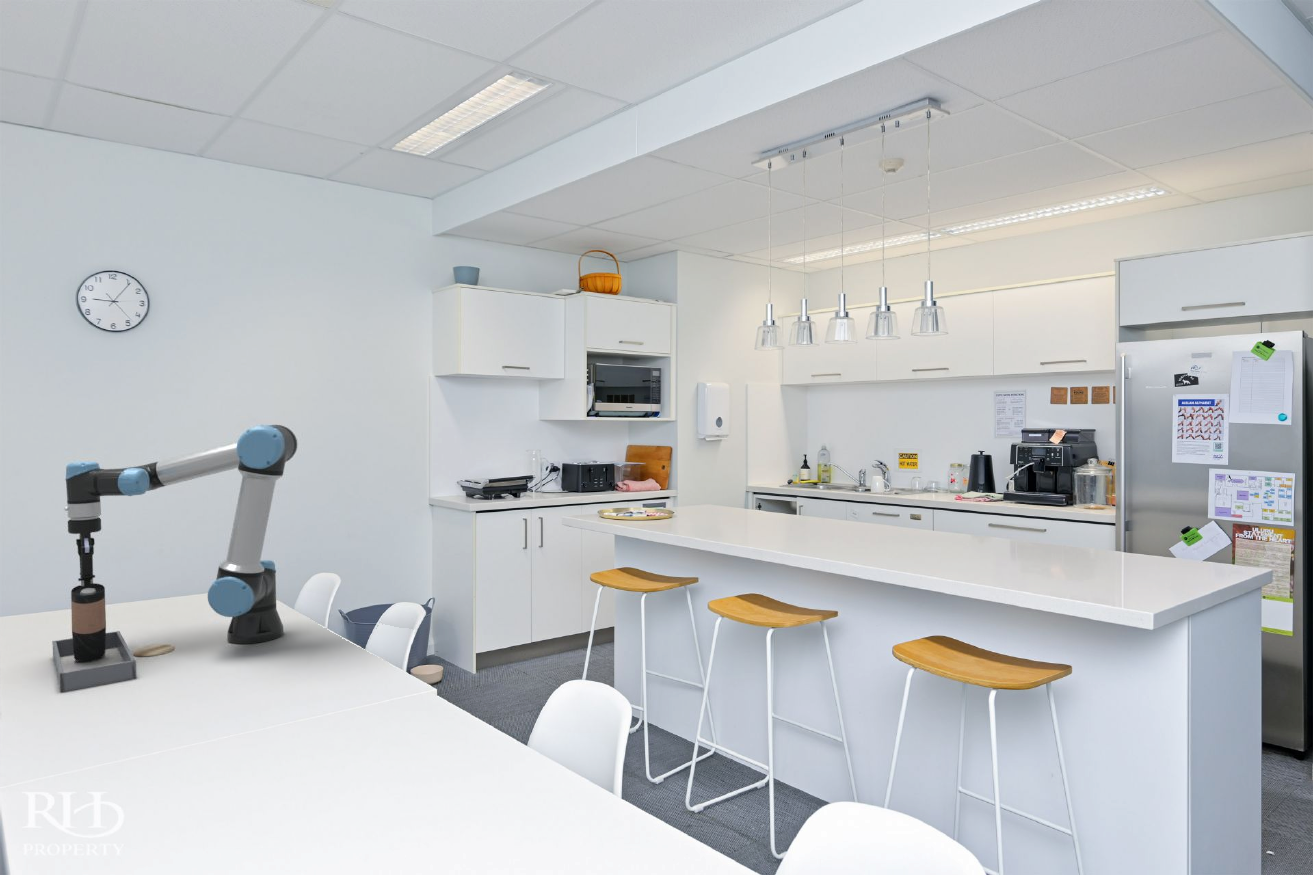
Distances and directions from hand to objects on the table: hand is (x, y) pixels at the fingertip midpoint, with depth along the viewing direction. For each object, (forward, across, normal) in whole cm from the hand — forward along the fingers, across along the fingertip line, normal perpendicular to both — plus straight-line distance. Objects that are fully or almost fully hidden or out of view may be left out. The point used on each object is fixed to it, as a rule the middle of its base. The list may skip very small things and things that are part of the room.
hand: (87, 602), depth 224 cm
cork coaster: (+15, +5, +15) cm, 22 cm away
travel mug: (+15, +1, 0) cm, 15 cm away
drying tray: (+15, +11, 0) cm, 19 cm away
